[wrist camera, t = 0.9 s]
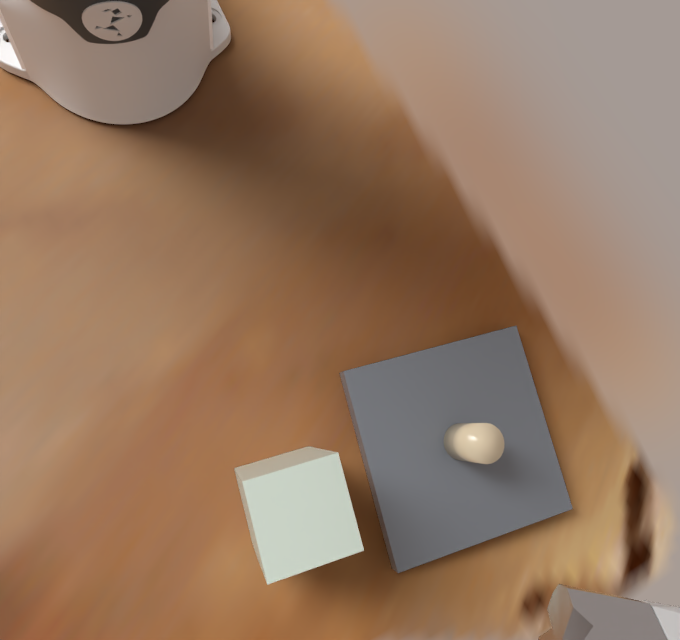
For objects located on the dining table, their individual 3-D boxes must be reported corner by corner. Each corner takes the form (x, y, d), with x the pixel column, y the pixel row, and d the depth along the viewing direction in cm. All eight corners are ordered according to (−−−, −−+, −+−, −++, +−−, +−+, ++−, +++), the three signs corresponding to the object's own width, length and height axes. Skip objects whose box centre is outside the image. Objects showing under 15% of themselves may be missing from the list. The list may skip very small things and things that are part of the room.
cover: (234, 468, 45) (242, 481, 34) (308, 446, 46) (338, 452, 36) (253, 546, 44) (267, 584, 34) (327, 521, 46) (364, 550, 35)
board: (339, 372, 48) (357, 365, 42) (507, 328, 52) (545, 316, 46) (391, 568, 46) (418, 589, 40) (562, 506, 50) (608, 516, 44)
